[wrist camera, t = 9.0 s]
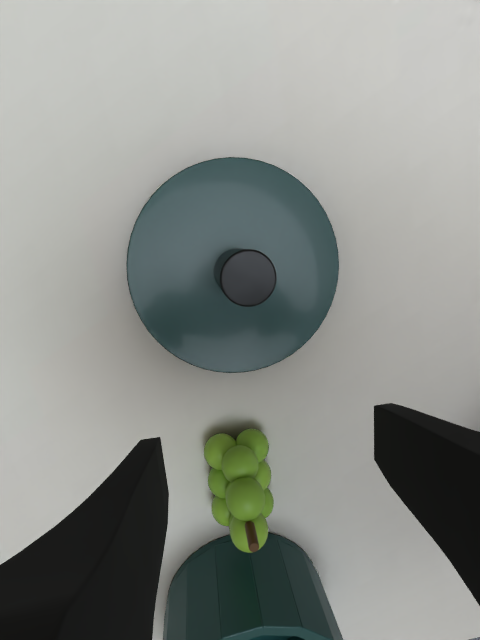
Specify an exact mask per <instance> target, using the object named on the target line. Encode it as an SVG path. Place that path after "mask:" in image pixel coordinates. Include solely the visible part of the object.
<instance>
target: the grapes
mask: <svg viewBox="0 0 480 640" xmlns="http://www.w3.org/2000/svg"><path fill="white" fill-rule="evenodd" d="M268 449H269V445H268V440H267V438H266V436H265V435H264V434H263V433H262V432H261V431H259V430H256V429H247V430H244V431H242V432H241V433H240V434H239V435H238V437H237V438H236V441H235V440H234V439H233V438H232V437H231V436H229V435H227V434H223V433H220V434H216V435H214V436H212V437H211V438H210V439H209V440H208V441H207V443H206V445H205V448H204V456H205V459H206V461H207V463H208V464H209V465H210V466H211V467H212V469H211V471H210V473H209V476H208V485H209V488H210V490H211V492H212V493H213V494H214V495H215V497H214V499H213V502H212V514H213V516H214V518H215V520H216V521H217V522H218V523H219V524H221V525H223V526H229V529H230V536H231V539H232V542H233V543H234V545H235V546H236V547H237V548H238V549H239V550H241V551H243V552H247V553H252V552H256V551H258V550H259V549H260V548H261V547H262V546H263V545H264V544H265V542H266V540H267V537H268V525H267V522H266V519H265V518H267V517H268V516H269V515H270V513H271V512H272V509H273V504H274V501H273V496H272V494H271V492H270V490H269V489H268V488H267V487H268V485H269V483H270V480H271V470H270V467H269V465H268V464H267V463H266V462H265V461H264V459H265V457H266V456H267V453H268Z"/></svg>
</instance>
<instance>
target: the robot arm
mask: <svg viewBox="0 0 480 640" xmlns="http://www.w3.org/2000/svg"><path fill="white" fill-rule="evenodd" d="M374 460H375V461H376V463H377V465H378V466H379V468H380V470H381V472H382V473H383V475H384V477H385V478H386V480H387V481H388V483H389V484H390V486H391V487H392V489H393V490H394V491H395V492H396V494H397V495H398V496H399V497H400V499H401V500H402V501H403V502H404V504H405V505H406V506H407V507H408V509H409V510H410V511H411V512H412V514H413V515H414V516H415V517H416V518H417V520H418V521H419V522H420V523H421V525H422V526H423V527H424V528H425V530H426V531H427V532H428V533H429V535H430V536H431V537H432V538H433V539H434V541H435V542H436V543H437V544H438V546H439V547H440V548H441V550H442V551H443V552H444V554H445V555H446V556H447V558H448V559H449V560H450V562H451V563H452V565H453V566H454V568H455V569H456V571H457V572H458V574H459V575H460V577H461V578H462V580H463V581H464V583H465V584H466V586H467V587H468V589H469V590H470V592H471V593H472V595H473V596H474V598H475V599H476V601H477V602H478V604H479V606H480V432H478V431H474V430H471V429H468V428H465V427H462V426H459V425H456V424H453V423H450V422H447V421H444V420H441V419H438V418H436V417H433V416H430V415H427V414H424V413H421V412H419V411H416V410H413V409H410V408H407V407H404V406H400V405H396V404H392V403H389V404H383V405H376V406H374ZM168 497H169V492H168V486H167V479H166V472H165V466H164V459H163V453H162V446H161V439H160V437H157V438H150V439H144V440H140V441H139V442H138V444H137V445H136V446H135V447H134V448H133V449H132V451H131V452H130V453H129V454H128V455H127V456H126V458H125V459H124V460H123V461H122V462H121V463H120V465H119V466H118V467H117V468H116V469H115V470H114V471H113V473H112V474H111V475H110V476H109V477H108V478H107V479H106V480H105V481H104V482H103V483H102V484H101V485H100V486H99V487H98V488H97V489H96V490H95V491H94V492H93V493H92V494H91V495H90V496H89V497H88V498H87V499H86V500H85V501H84V502H83V503H82V504H81V505H80V506H78V507H77V508H76V509H75V510H74V511H73V512H72V513H70V514H69V515H68V516H67V517H66V518H64V519H63V520H62V521H61V522H60V523H59V524H57V525H56V526H55V527H53V528H52V529H51V530H49V531H48V532H47V533H45V534H44V535H43V536H41V537H40V538H39V539H37V540H36V541H34V542H33V543H32V544H30V545H29V546H28V547H26V548H25V549H24V550H22V551H21V552H19V553H18V554H16V555H15V556H13V557H12V558H10V559H9V560H7V561H6V562H4V563H3V564H1V565H0V640H152V634H153V619H154V611H155V602H156V595H157V589H158V583H159V576H160V570H161V564H162V557H163V551H164V544H165V538H166V531H167V524H168ZM469 640H480V637H478V638H474V639H469Z"/></svg>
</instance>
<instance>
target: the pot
mask: <svg viewBox="0 0 480 640" xmlns="http://www.w3.org/2000/svg"><path fill="white" fill-rule="evenodd" d="M163 640H343V638H342V635H341V633H340V630H339V627H338V625H337V622H336V619H335V617H334V614H333V612H332V609H331V606H330V604H329V601H328V599H327V596H326V593H325V591H324V588H323V586H322V583H321V580H320V578H319V575H318V573H317V571H316V569H315V568H314V566H313V564H312V562H311V560H310V559H309V557H308V556H307V554H306V553H305V552H304V551H303V550H302V549H301V548H300V547H298V546H297V545H296V544H295V543H293V542H291V541H290V540H288V539H286V538H283V537H281V536H278V535H274V534H271V533H268V537H267V540H266V542H265V544H264V545H263V546H262V547H261V548H260V549H259V550H258V551H256V552H252V553H247V552H243V551H241V550H239V549H238V548H237V547H236V546H235V545H234V543H233V542H232V539H231V536H230V535H228V536H225V537H222V538H219V539H217V540H215V541H212V542H210V543H209V544H207V545H205V546H203V547H202V548H200V549H199V550H198V551H196V552H195V553H194V554H192V555H191V556H190V557H189V558H188V559H187V560H186V561H185V562H184V564H183V565H182V566H181V567H180V568H179V570H178V572H177V573H176V575H175V576H174V578H173V581H172V583H171V585H170V588H169V592H168V597H167V605H166V610H165V618H164V631H163Z"/></svg>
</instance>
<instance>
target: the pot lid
mask: <svg viewBox="0 0 480 640" xmlns="http://www.w3.org/2000/svg"><path fill="white" fill-rule="evenodd" d="M338 270H339V260H338V249H337V243H336V238H335V235H334V232H333V228H332V225H331V223H330V221H329V219H328V217H327V214H326V212H325V211H324V209H323V208H322V206H321V204H320V203H319V201H318V200H317V199H316V198H315V196H314V195H313V194H312V193H311V192H310V190H309V189H308V188H307V187H305V186H304V185H303V184H302V183H301V182H300V181H299V180H298V179H296V178H295V177H293V176H292V175H290V174H289V173H287V172H286V171H284V170H282V169H280V168H278V167H276V166H274V165H271V164H268V163H265V162H262V161H259V160H253V159H248V158H235V157H229V158H218V159H213V160H209V161H204V162H201V163H198V164H196V165H193V166H191V167H188V168H186V169H184V170H183V171H181V172H179V173H178V174H176V175H174V176H173V177H172V178H170V179H169V180H168V181H166V182H165V183H164V184H163V185H162V186H161V187H160V188H159V189H158V190H157V191H156V192H155V193H154V194H153V195H152V196H151V198H150V199H149V200H148V202H147V203H146V204H145V206H144V207H143V209H142V211H141V213H140V215H139V216H138V218H137V220H136V223H135V225H134V228H133V231H132V233H131V237H130V241H129V246H128V253H127V280H128V285H129V290H130V294H131V297H132V300H133V303H134V306H135V309H136V311H137V313H138V315H139V317H140V319H141V321H142V322H143V324H144V325H145V327H146V328H147V330H148V331H149V332H150V333H151V335H152V336H153V337H154V338H155V339H156V340H157V342H159V343H160V344H161V345H162V346H163V347H164V348H165V349H166V350H168V351H169V352H170V353H172V354H173V355H175V356H176V357H178V358H179V359H181V360H183V361H185V362H187V363H189V364H191V365H194V366H197V367H200V368H203V369H206V370H211V371H216V372H226V373H238V372H248V371H254V370H258V369H261V368H265V367H268V366H270V365H273V364H275V363H277V362H280V361H281V360H283V359H285V358H286V357H288V356H290V355H291V354H293V353H294V352H295V351H297V350H298V349H299V348H301V347H302V346H303V345H304V344H305V343H306V342H307V341H308V340H309V339H310V338H311V337H312V336H313V334H314V333H315V332H316V331H317V329H318V328H319V327H320V325H321V323H322V322H323V320H324V318H325V317H326V315H327V313H328V311H329V308H330V306H331V304H332V301H333V298H334V295H335V291H336V286H337V281H338Z"/></svg>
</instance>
